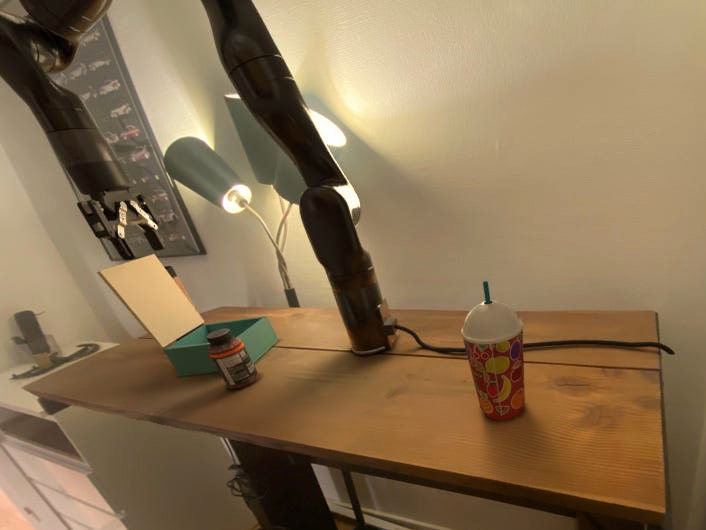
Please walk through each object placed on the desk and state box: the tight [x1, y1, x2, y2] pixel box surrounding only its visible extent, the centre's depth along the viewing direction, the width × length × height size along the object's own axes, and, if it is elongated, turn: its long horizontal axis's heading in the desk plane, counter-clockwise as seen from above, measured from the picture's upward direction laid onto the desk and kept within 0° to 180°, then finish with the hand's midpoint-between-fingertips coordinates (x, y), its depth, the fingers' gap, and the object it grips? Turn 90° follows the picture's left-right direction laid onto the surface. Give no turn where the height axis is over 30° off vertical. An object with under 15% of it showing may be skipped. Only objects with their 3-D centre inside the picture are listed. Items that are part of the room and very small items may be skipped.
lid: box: [96, 253, 205, 349], centre depth 83 cm, size 18×14×5 cm
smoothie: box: [460, 280, 526, 421], centre depth 52 cm, size 8×8×20 cm
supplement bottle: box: [206, 329, 259, 390], centre depth 74 cm, size 6×6×11 cm
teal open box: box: [163, 315, 279, 377], centre depth 88 cm, size 17×14×7 cm
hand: (146, 254), depth 73 cm, fingers open, 8 cm apart
